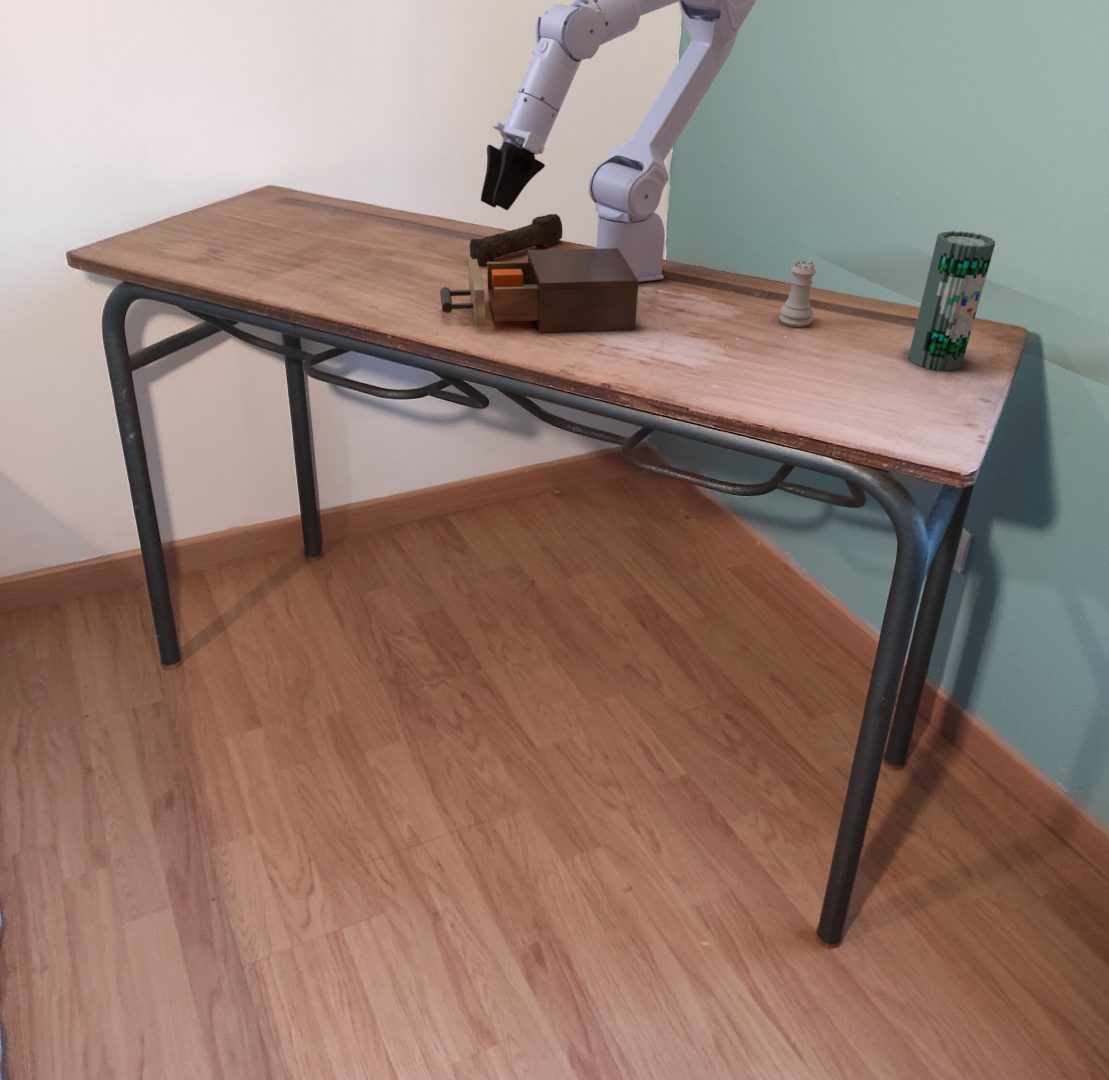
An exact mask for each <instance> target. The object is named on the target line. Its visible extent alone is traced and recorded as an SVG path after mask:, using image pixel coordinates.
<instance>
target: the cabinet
mask: <svg viewBox="0 0 1109 1080" xmlns="http://www.w3.org/2000/svg"><path fill="white" fill-rule="evenodd" d="M527 261H530V263H531V265H532V268H533V270H534V273H535V276H536V278H537V281H538V284H539V286H540V291H539V320H535V324H536V326H537V329H538V331H539V334H544V333H548V334H549V333H576V332H578V333H579V332H607V331H609V332H610V331H612V332H613V331H635V330H636V322H637V310H638V309H637V308H638V296H639V295H638V293H639V283H640V282H639V281H638V279H637V277H636V276H635V274H634V273H633V271H632V270H631V268H630V267H629V265H628V263H627V262H626V260H625V259H624V257H623V256H622V254H621V252H620V251H619V249H618V248H607V249H597V248H565V249H564V248H563V249H562V248H561V249H560V248H559V249H528V250H527Z"/></svg>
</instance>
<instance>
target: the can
mask: <svg viewBox="0 0 1109 1080" xmlns="http://www.w3.org/2000/svg"><path fill="white" fill-rule="evenodd" d="M934 244H935V245H934V249H933V254H932V256H931V257H932V258H931V261H930V266H929V270H928V273H927V277H926V278H927V279H926V282H925V285H924V290H923V295H922V299H921V303H920V307H919V311H918V316H917V319H916V325H915V328H914V331H913V336H912V340H911V345H910V348H909V352H908V356H907V358H908V359H909V361H910V362H912V363H914V364H915V365H917V366H919V367H921V368H922V367H923V368H926V369H928V370H930V369H931V370H932V371H933V370H936V371H945V372H947V371H952V370H958V369H960V367H962V366H963V363H964V358H965V356H966V352H967V348H968V344H969V341H970V337H971V333H972V329H973V326H974V323H975V320H976V315H977V311H978V308H979V304H980V300H981V297H982V294H983V289H984V286H985V282H986V279H987V275H988V271H989V268H990V264H991V261H992V257H993V253H994V249H995V246H996V241H995V240H994V239H993V238H992V237H989V236H986V235H983V234H981V233H979V234H978V233H975V232H969V231H963V230H962V231H956V230H952V231H951V230H950V231H943V232H940V233H937V236H936V241H935V243H934Z"/></svg>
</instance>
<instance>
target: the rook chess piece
mask: <svg viewBox="0 0 1109 1080" xmlns="http://www.w3.org/2000/svg"><path fill="white" fill-rule="evenodd" d="M815 265H816V263H814V262H813V261H811V260H808V262H807V263H806V259H801V261H800V260H795V262H794V265H793V266H792V267H791V268H790V271H791V273H792V274H793V277H792V278H791V279H790V283H791V288H790V291H789V294H788V297H787V299H786V300H785V302H784V304H783V305H782V306H781V307H780V310H779V311H780V315H778V319H779V321H780V323H781V324H783V325H785V326H787V327H792V328H803V327H804V328H805V327H807V326H809V325H810V324H811V323H812V322H813V318H812V316H813V315H814V312H813V311H814V310H813V308H812V304H811V302H810V297H811V294H810V293H811V286H812V285H813V276H815V274H816V273H817V270H816V268H815Z"/></svg>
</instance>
